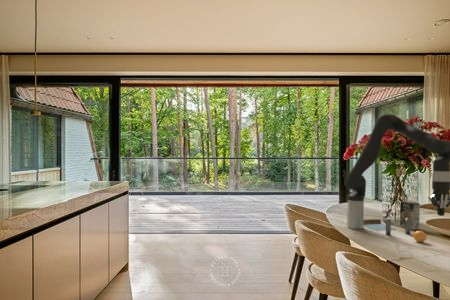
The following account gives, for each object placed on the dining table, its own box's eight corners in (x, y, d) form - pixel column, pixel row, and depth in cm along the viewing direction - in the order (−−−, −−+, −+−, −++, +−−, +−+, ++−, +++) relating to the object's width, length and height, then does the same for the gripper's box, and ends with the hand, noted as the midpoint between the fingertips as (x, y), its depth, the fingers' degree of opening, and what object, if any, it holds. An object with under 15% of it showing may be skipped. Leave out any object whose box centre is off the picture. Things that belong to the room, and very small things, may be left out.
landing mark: (362, 225, 211) (362, 224, 211) (381, 224, 214) (381, 224, 214) (376, 230, 197) (376, 230, 197) (396, 229, 200) (396, 229, 200)
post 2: (404, 233, 191) (404, 218, 191) (408, 233, 192) (408, 217, 192) (407, 234, 189) (407, 219, 189) (411, 234, 189) (411, 218, 189)
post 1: (384, 234, 189) (384, 218, 189) (388, 234, 189) (388, 218, 189) (387, 235, 186) (387, 219, 186) (391, 235, 187) (391, 219, 187)
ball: (410, 240, 176) (410, 229, 176) (420, 240, 177) (420, 229, 177) (419, 243, 170) (419, 232, 170) (429, 243, 171) (429, 232, 171)
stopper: (354, 223, 216) (354, 219, 216) (378, 222, 219) (378, 218, 219) (356, 224, 214) (356, 220, 214) (380, 223, 217) (380, 219, 217)
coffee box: (399, 226, 208) (399, 201, 208) (406, 225, 211) (406, 200, 211) (412, 229, 200) (413, 203, 200) (419, 229, 203) (420, 203, 203)
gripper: (446, 179, 166) (445, 213, 166) (423, 179, 163) (423, 214, 163) (459, 180, 158) (459, 216, 158) (436, 181, 156) (435, 217, 156)
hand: (440, 215), depth 161 cm, fingers closed
